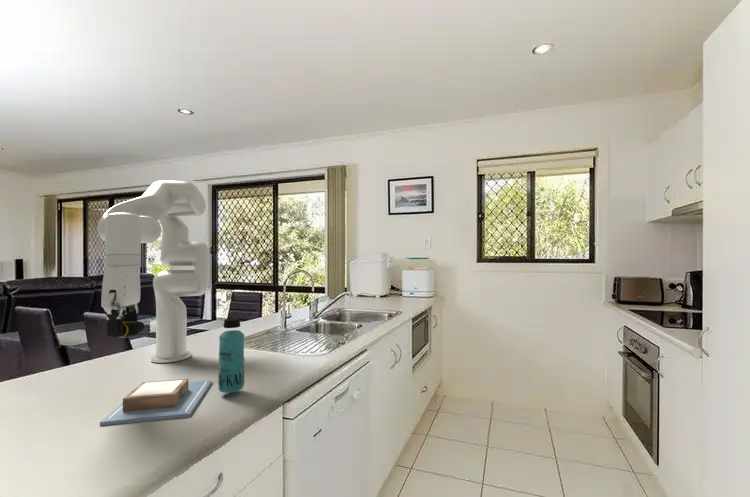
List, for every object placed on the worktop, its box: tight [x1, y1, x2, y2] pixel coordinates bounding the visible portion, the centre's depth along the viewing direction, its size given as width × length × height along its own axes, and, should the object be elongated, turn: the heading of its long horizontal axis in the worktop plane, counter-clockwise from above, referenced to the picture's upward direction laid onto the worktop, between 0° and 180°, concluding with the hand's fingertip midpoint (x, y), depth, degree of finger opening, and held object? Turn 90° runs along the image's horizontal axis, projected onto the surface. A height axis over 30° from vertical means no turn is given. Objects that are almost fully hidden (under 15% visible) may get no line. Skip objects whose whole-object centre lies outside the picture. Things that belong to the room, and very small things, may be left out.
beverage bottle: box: [217, 317, 246, 394], centre depth 95 cm, size 6×7×20 cm
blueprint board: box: [99, 378, 213, 427], centre depth 90 cm, size 22×18×4 cm
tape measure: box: [110, 320, 145, 339], centre depth 90 cm, size 7×7×4 cm
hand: (123, 331), depth 90 cm, fingers closed on tape measure, 6 cm apart
